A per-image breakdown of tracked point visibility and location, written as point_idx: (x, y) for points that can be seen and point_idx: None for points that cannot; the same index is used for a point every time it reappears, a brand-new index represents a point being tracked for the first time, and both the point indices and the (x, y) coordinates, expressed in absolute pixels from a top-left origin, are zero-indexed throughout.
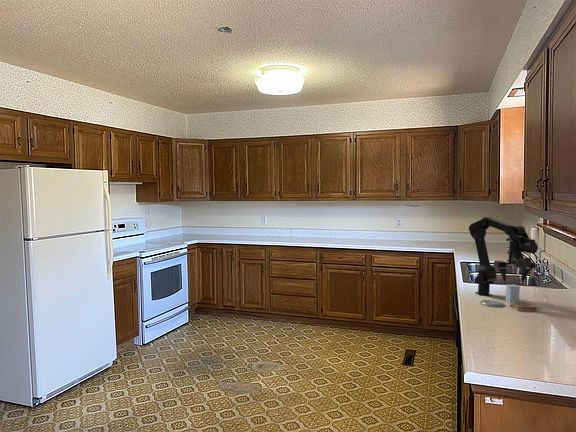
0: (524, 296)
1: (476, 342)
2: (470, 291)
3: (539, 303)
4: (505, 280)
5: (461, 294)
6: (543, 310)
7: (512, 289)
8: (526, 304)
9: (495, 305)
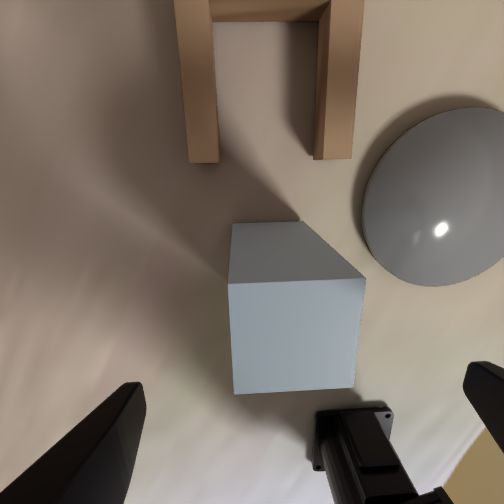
0: None
1: None
2: None
3: (50, 276)
4: (488, 369)
5: None
6: (90, 48)
7: (323, 263)
8: (215, 113)
9: (478, 124)
